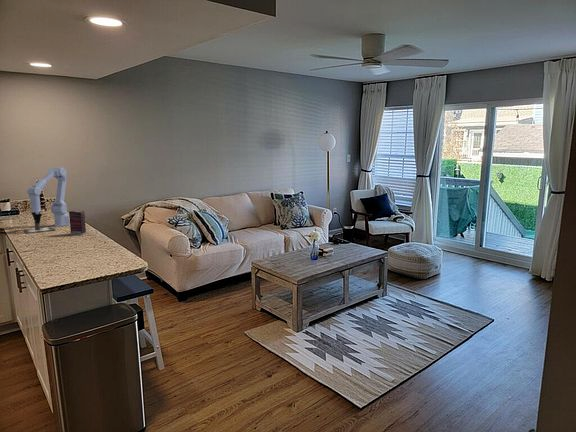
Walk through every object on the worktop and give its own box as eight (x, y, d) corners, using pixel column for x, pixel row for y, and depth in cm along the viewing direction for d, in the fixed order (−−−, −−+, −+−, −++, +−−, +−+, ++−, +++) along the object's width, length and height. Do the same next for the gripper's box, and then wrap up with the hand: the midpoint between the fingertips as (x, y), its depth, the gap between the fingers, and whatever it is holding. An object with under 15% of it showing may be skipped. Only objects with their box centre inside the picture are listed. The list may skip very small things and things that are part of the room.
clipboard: (52, 227, 295) (52, 225, 294) (55, 230, 284) (55, 228, 284) (23, 230, 284) (23, 228, 283) (25, 233, 273) (25, 231, 273)
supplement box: (86, 233, 277) (84, 210, 274) (82, 234, 272) (80, 212, 270) (74, 232, 278) (73, 210, 275) (70, 234, 273) (68, 211, 270)
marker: (39, 228, 286) (39, 219, 285) (40, 229, 283) (39, 219, 282) (34, 229, 284) (33, 219, 283) (35, 230, 282) (34, 220, 280)
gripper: (27, 203, 284) (29, 221, 286) (29, 205, 273) (31, 224, 275) (39, 202, 288) (40, 220, 290) (41, 204, 277) (43, 223, 279)
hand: (37, 222), depth 283 cm, fingers open, 7 cm apart
